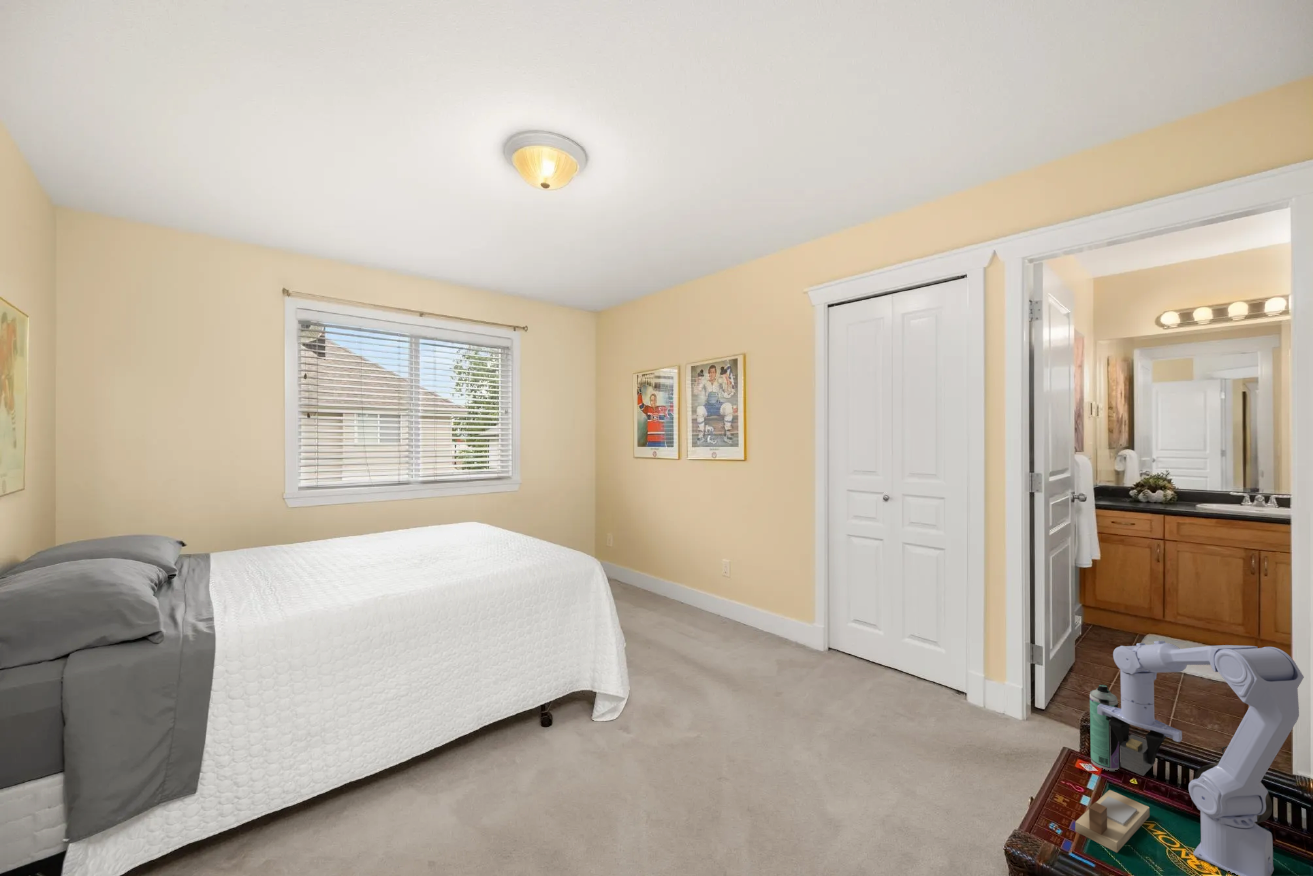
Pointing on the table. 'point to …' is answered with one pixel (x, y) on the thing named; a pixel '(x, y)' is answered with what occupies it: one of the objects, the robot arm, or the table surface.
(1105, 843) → the hand plane
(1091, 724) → the spray can
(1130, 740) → the lever cap
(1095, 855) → the table surface
